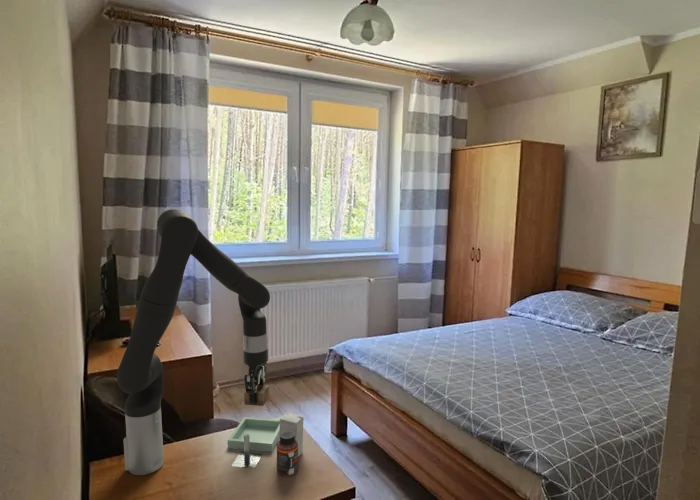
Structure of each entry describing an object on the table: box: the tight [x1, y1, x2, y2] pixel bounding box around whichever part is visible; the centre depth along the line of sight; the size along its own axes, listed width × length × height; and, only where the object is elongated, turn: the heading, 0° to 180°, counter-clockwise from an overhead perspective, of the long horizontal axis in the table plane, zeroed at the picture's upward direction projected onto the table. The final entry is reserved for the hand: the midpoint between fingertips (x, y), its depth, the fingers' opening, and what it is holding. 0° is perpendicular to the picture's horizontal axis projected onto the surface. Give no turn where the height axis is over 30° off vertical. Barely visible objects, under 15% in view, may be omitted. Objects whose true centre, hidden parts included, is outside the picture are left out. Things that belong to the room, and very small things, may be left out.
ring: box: [243, 384, 270, 407], centre depth 141 cm, size 6×7×4 cm
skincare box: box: [278, 412, 304, 458], centre depth 134 cm, size 6×4×12 cm
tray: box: [227, 416, 280, 453], centre depth 143 cm, size 14×14×3 cm
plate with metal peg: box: [231, 435, 263, 469], centre depth 131 cm, size 7×7×8 cm
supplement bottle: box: [276, 431, 299, 478], centre depth 126 cm, size 6×6×11 cm
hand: (257, 398), depth 141 cm, fingers closed on ring, 6 cm apart
